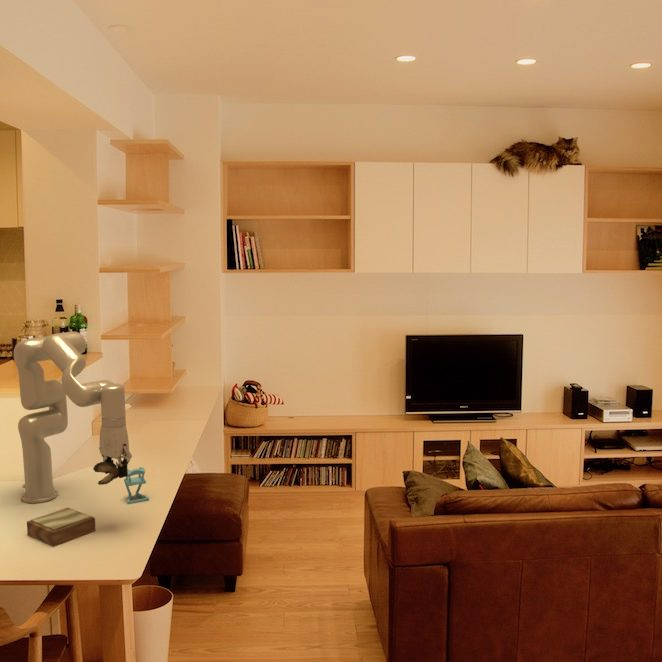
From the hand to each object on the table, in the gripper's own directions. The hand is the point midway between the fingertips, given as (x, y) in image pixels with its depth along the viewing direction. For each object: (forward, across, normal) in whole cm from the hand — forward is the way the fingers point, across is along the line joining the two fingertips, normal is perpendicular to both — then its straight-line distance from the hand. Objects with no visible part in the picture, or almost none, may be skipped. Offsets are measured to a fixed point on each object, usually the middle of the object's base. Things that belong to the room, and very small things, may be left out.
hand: (116, 474), depth 243 cm
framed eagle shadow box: (+17, -9, -15) cm, 25 cm away
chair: (+18, -15, +19) cm, 30 cm away
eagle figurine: (+2, 0, -2) cm, 3 cm away
